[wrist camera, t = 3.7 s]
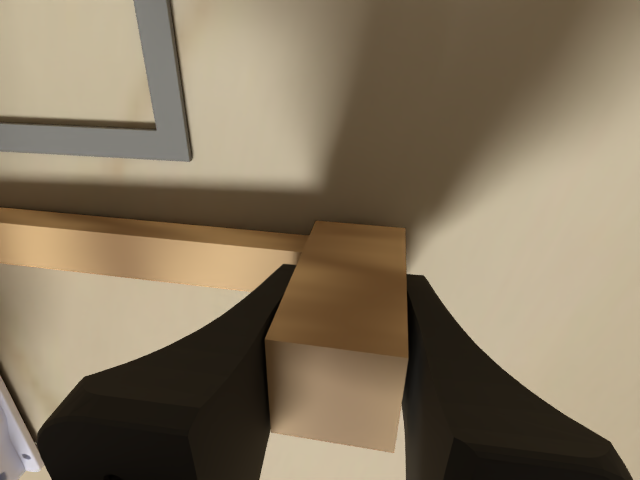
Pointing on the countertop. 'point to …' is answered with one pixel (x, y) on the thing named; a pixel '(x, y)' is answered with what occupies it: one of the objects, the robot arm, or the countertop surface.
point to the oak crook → (292, 314)
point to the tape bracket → (124, 142)
